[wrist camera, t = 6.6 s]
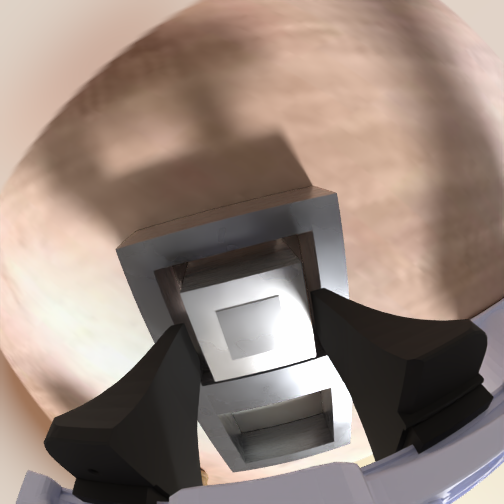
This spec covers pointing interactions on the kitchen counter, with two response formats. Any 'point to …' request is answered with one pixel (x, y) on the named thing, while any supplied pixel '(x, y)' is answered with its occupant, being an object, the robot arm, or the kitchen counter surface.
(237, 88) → the kitchen counter surface
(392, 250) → the kitchen counter surface
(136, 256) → the grey rectangular tray
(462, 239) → the kitchen counter surface
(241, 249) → the gray block
